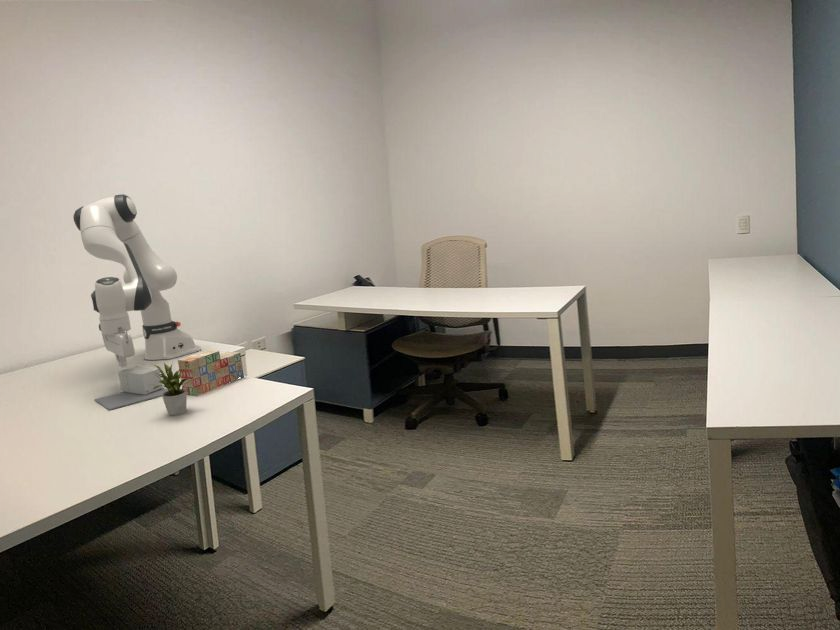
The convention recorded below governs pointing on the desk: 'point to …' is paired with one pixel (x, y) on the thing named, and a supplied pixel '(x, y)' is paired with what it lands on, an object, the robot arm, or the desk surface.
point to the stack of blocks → (209, 370)
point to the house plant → (173, 390)
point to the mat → (127, 399)
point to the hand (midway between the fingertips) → (122, 366)
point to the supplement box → (140, 380)
